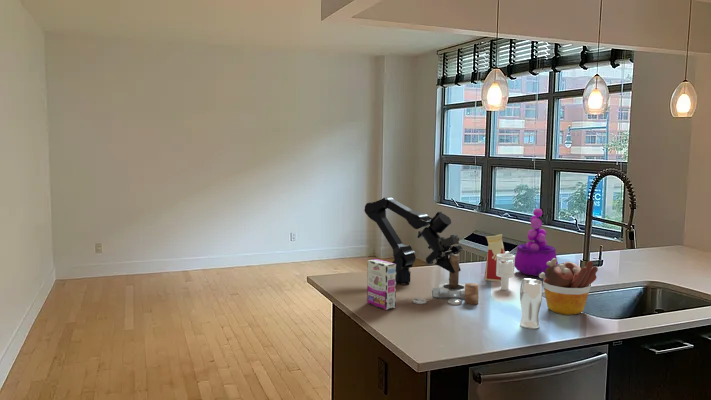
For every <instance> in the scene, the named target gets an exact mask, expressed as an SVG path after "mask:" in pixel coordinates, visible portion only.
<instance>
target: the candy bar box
mask: <svg viewBox="0 0 711 400" xmlns="http://www.w3.org/2000/svg"><path fill="white" fill-rule="evenodd" d="M366 280H367V290H366V291H367V295H366V296H367V297H366V302H367V304H368V305H371V306H374V307H377V308H379V309H382V310H384V311H390V310H393V309H396V305H397V304H396V303H397V301H396V299H397V284H396V264H394V263H392V262H390V261H386V260H382V259H379V258H378V259H377V258H375V259H370V260H369V259H368V260H367V279H366Z"/></svg>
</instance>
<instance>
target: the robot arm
mask: <svg viewBox="0 0 711 400" xmlns="http://www.w3.org/2000/svg"><path fill="white" fill-rule="evenodd" d="M386 210H389V211H392V212H393V213H395V214H397V215H398V216H400V217H402V218H404V219H405V220H406V221H407V223H408V225H409V226H410V227H412V228H413V229H415V230H419V231H418V232H417V233H418V234H417V239H422V238H423V239H424V241H425V242H426V244H427V245H428V246H427V249H429V250H432V251H431V252H430V254H429V255H427V256H426V258H425V262H426V264H427V265H428V266H429V265H430V266H431V265H433V264H434V265H435V266H439V267H440V268H442V269H444V270H446V271H448V272H451V273H453V274H454V273H455V270H454V268H453V267H452V265H451V263H450V255H451V254H457V255H459V254H460V252H461V251H463V249H464V248H463V247H462V245H460V244H459V243H460V237H459V236H458V235H457V234H456V233H453V234H451V235H450V236H449V237H447V238H445V237H443V236H442V237H441V236H440V234H442V233H443V232H444V231H445V230H447V228H448V227H449V226H451V224H452V219H451V217H449V216H448V215H446V214H445V213H443V212H442V211H437V212H436V213H435V215H434V216H433V217H430V215H428V214H427V213H425V212H422V211H418V210H414V209H411V208H410V207H408V206H406V205H405V204H402V202H399V201H397V200H396V199H394V198H393V197H391V196H386V197H383V198H381V199H378V200H376V201H372V202H371V201H369V202H367V203H366V204H365V205H364V210H363V211H364V213H365V215H366V216H367V217H368V218H369V219H370V220H372V221H373V222H374V223H376V225H377V227H378V228H379V229H380V230H381V233H382V235H383V236H384V237H385V239H386V241H387V243H388V244H389V245H390V247H391V249H392V256H393V259H394V260H392V261H391V263H394V264H396V285H409V284H410V282H411V277H412V275H411V270H410V269H411V268H413V265H414V263H415V262H416V258H417V256H416V254H415V253H416V252H415V251H414V250H413V248H412V246H411V245H410V244H407V245H405V243H403V242H402V239H401V238H400V237H399V235H398V234H397V232H396V230H395V229H394V227H393V225H392V224H391V223H390V220H389V219H388V218H387V211H386ZM420 229H422V230H420ZM434 261H436V262H434ZM459 272H461V266H460V265H459Z"/></svg>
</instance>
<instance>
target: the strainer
mask: <svg viewBox="0 0 711 400" xmlns="http://www.w3.org/2000/svg"><path fill="white" fill-rule="evenodd" d="M515 256H516V255H515V254H510V251H508V250H507V251H505V254H497V265H496V276H498V277H501V282H500V290H503V291H508V290H510V288H509V285H510V284H509V282H510V279H511V278H514V277H515ZM499 259H501V260H499ZM498 261H499V262H498ZM501 261H502V262H504V261H506V262H505V263H501Z"/></svg>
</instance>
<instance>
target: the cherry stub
mask: <svg viewBox="0 0 711 400" xmlns="http://www.w3.org/2000/svg"><path fill="white" fill-rule="evenodd" d="M464 285H465V299H464V304H465V305H469V306H475V305H476V306H477V305H478V304H479V291H480V290H479V288H480V286H479V285H480V284H479V283H476V282H466V283H465V284H464Z"/></svg>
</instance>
